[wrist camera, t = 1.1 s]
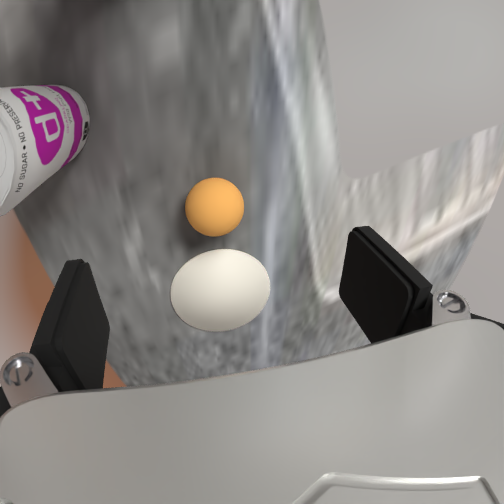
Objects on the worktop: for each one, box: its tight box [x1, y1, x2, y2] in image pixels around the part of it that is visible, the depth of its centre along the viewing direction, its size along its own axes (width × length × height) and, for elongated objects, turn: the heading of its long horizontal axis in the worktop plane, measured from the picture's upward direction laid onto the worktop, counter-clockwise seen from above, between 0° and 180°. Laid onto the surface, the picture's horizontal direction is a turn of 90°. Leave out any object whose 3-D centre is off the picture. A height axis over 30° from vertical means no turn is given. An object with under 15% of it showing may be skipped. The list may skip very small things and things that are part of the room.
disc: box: [171, 249, 270, 332], centre depth 38 cm, size 12×12×1 cm
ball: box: [185, 178, 244, 236], centre depth 30 cm, size 6×6×6 cm
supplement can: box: [0, 85, 90, 216], centre depth 18 cm, size 8×8×15 cm
